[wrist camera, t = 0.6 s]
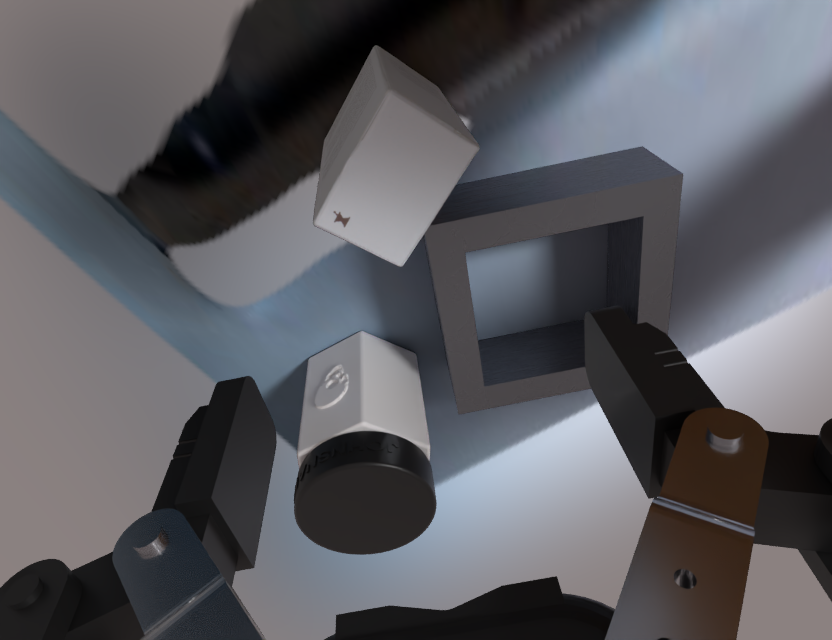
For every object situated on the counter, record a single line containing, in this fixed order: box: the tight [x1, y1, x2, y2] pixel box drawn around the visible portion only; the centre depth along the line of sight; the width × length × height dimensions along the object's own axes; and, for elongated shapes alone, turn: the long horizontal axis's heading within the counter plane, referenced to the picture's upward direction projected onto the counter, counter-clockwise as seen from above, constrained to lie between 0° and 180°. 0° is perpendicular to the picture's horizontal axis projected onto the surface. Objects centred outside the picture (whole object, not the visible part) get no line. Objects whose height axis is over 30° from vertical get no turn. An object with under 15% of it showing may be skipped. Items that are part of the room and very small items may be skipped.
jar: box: [294, 331, 436, 554], centre depth 36 cm, size 9×8×12 cm
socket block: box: [423, 146, 683, 414], centre depth 35 cm, size 14×14×5 cm
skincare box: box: [313, 45, 480, 267], centre depth 26 cm, size 6×4×12 cm
